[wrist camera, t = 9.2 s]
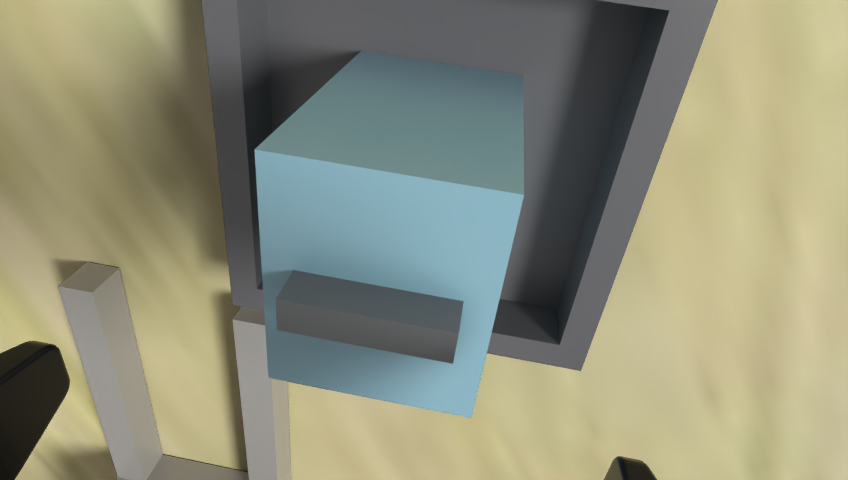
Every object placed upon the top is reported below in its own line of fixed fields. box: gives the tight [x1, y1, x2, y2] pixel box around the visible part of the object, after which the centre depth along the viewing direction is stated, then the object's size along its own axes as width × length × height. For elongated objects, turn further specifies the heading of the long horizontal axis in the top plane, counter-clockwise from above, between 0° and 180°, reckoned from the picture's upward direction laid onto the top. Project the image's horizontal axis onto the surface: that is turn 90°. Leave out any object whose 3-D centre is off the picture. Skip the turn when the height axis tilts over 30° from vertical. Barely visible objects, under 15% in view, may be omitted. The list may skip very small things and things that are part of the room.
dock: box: [58, 262, 291, 480], centre depth 25 cm, size 9×18×7 cm, turn 174°
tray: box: [202, 0, 718, 371], centre depth 18 cm, size 13×13×3 cm
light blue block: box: [255, 51, 524, 418], centre depth 14 cm, size 5×6×9 cm
